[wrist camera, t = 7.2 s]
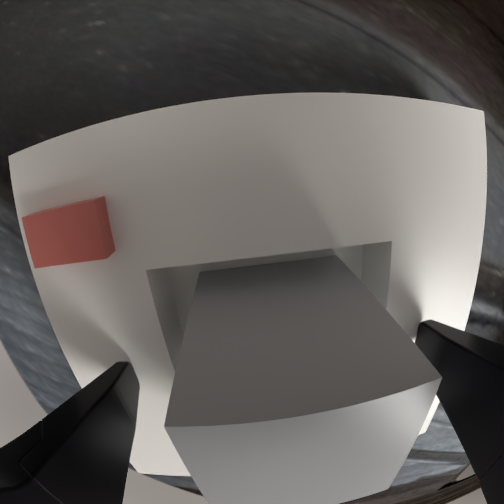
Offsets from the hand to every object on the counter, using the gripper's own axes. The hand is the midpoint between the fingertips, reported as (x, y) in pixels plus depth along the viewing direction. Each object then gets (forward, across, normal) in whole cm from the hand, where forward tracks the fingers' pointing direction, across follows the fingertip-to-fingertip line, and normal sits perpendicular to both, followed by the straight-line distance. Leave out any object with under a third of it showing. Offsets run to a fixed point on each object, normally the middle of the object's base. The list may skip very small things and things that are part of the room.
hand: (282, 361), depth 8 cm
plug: (+2, 0, +1) cm, 2 cm away
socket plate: (+3, 0, 0) cm, 3 cm away
